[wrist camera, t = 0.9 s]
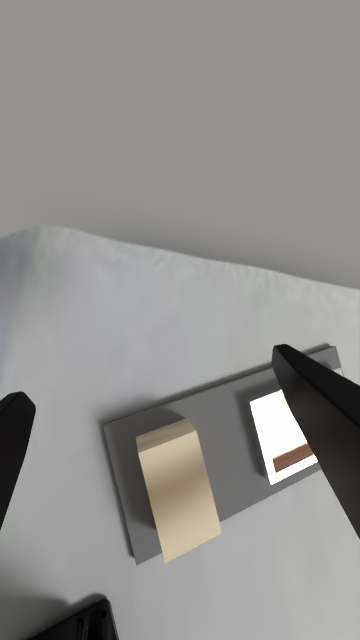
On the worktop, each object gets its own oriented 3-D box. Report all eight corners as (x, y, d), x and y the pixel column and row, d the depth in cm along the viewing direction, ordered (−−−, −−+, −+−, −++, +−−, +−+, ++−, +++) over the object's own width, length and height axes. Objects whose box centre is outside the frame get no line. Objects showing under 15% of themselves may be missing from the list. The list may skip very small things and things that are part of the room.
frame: (349, 435, 22) (360, 439, 21) (263, 477, 19) (271, 484, 18) (331, 366, 22) (340, 367, 21) (243, 399, 19) (249, 402, 18)
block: (208, 506, 18) (222, 532, 15) (158, 531, 17) (165, 563, 14) (186, 418, 18) (196, 430, 15) (135, 437, 17) (138, 453, 14)
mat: (357, 445, 22) (362, 447, 22) (136, 559, 17) (136, 565, 16) (331, 346, 23) (335, 346, 22) (103, 424, 17) (102, 426, 16)
